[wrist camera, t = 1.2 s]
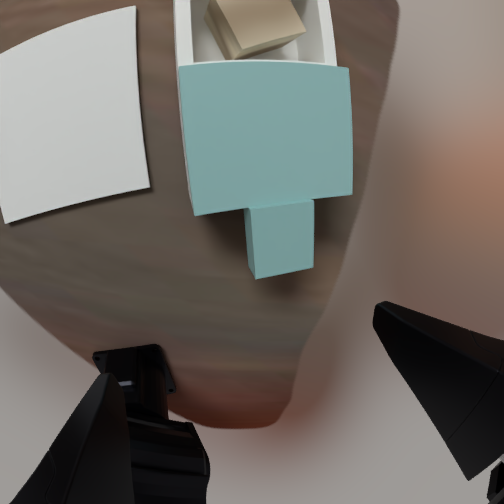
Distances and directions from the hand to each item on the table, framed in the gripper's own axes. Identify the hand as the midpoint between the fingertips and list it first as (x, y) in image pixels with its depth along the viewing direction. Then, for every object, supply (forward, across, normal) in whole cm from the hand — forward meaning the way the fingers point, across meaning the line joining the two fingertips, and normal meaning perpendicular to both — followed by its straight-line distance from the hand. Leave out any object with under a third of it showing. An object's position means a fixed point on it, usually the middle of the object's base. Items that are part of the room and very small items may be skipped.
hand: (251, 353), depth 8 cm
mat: (+13, +9, -10) cm, 19 cm away
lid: (+9, -4, -4) cm, 10 cm away
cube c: (+13, -4, -13) cm, 19 cm away
